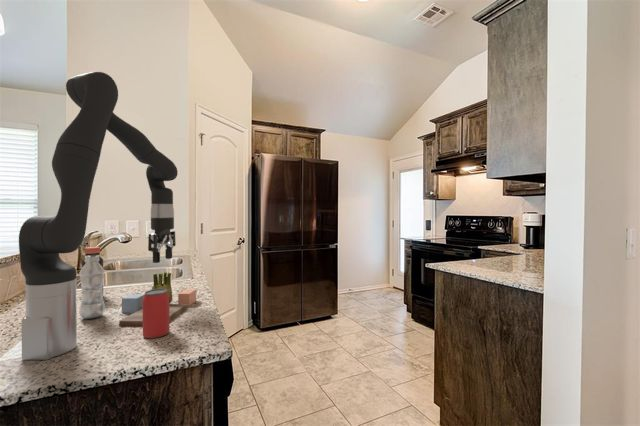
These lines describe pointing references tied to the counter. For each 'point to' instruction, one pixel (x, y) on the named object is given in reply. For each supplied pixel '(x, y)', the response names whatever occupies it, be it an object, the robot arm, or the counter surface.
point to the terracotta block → (187, 297)
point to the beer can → (155, 313)
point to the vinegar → (93, 252)
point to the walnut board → (137, 317)
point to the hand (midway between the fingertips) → (162, 260)
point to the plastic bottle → (92, 288)
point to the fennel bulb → (165, 284)
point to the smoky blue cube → (132, 303)
